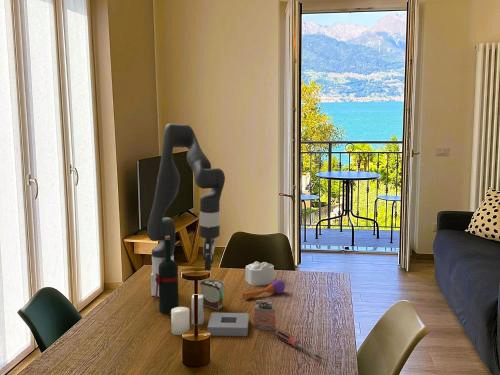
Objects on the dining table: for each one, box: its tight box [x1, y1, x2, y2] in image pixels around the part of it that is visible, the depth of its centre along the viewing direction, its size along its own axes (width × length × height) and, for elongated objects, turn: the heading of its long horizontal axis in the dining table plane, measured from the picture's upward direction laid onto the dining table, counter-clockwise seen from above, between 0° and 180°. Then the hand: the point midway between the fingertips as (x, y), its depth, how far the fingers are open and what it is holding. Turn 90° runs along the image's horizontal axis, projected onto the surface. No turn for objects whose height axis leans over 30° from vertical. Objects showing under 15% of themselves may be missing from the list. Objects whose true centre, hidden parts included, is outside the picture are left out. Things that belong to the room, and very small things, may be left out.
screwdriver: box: [275, 329, 323, 360], centre depth 178 cm, size 25×3×3 cm, turn 32°
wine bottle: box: [152, 236, 180, 315], centre depth 210 cm, size 8×10×30 cm
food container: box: [199, 278, 226, 311], centre depth 217 cm, size 12×6×10 cm, turn 47°
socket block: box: [206, 312, 250, 337], centre depth 195 cm, size 14×14×3 cm
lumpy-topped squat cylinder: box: [245, 261, 275, 286], centre depth 250 cm, size 10×13×9 cm
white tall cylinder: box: [190, 294, 205, 325], centre depth 200 cm, size 4×4×10 cm
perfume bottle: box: [253, 299, 276, 331], centre depth 195 cm, size 8×3×10 cm, turn 71°
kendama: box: [242, 279, 286, 301], centre depth 230 cm, size 6×6×20 cm
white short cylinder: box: [170, 306, 191, 336], centre depth 191 cm, size 6×6×8 cm
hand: (209, 266), depth 196 cm, fingers open, 8 cm apart
